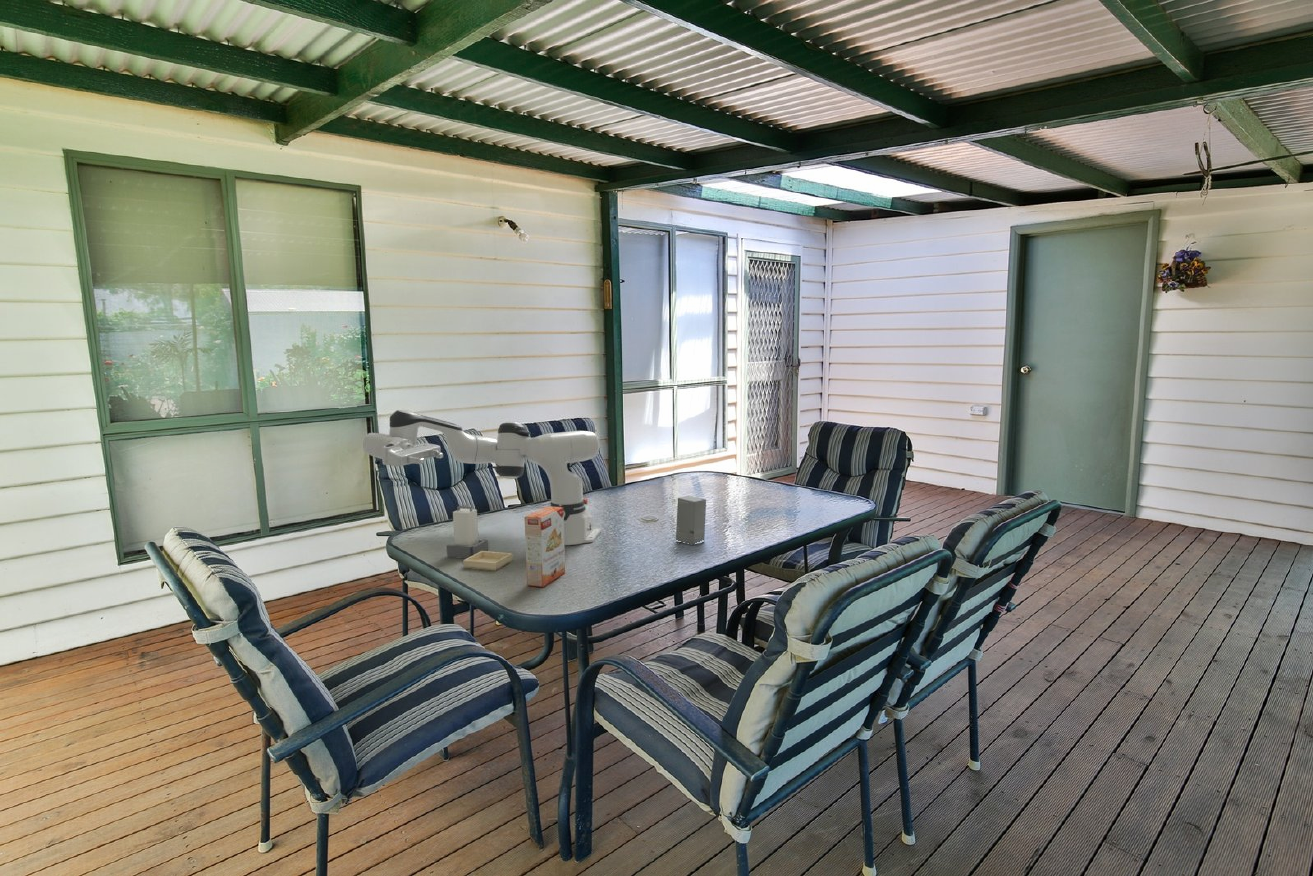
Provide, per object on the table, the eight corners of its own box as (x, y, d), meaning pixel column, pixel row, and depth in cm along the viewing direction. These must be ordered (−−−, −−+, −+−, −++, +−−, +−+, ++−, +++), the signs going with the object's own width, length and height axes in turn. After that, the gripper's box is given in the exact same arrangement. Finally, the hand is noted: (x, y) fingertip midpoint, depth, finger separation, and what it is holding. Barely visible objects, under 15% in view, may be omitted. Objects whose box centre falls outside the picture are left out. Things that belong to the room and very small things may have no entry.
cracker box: (544, 588, 204) (541, 517, 201) (526, 586, 206) (522, 516, 203) (566, 573, 217) (564, 506, 214) (549, 571, 219) (546, 505, 216)
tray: (482, 558, 234) (481, 550, 234) (513, 560, 230) (512, 553, 230) (463, 568, 224) (463, 560, 224) (495, 571, 220) (495, 563, 220)
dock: (462, 549, 245) (462, 538, 244) (488, 551, 241) (487, 540, 241) (447, 556, 236) (446, 545, 236) (473, 559, 233) (473, 547, 232)
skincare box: (675, 542, 248) (674, 497, 246) (688, 537, 253) (688, 494, 251) (694, 546, 242) (693, 501, 240) (707, 541, 248) (706, 497, 245)
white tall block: (464, 551, 242) (461, 504, 240) (479, 552, 240) (476, 505, 238) (455, 555, 238) (452, 507, 235) (470, 557, 236) (468, 508, 233)
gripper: (422, 453, 257) (452, 461, 252) (379, 465, 239) (410, 474, 233) (422, 437, 256) (453, 444, 250) (379, 447, 237) (410, 455, 232)
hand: (432, 458), depth 242 cm, fingers open, 8 cm apart
